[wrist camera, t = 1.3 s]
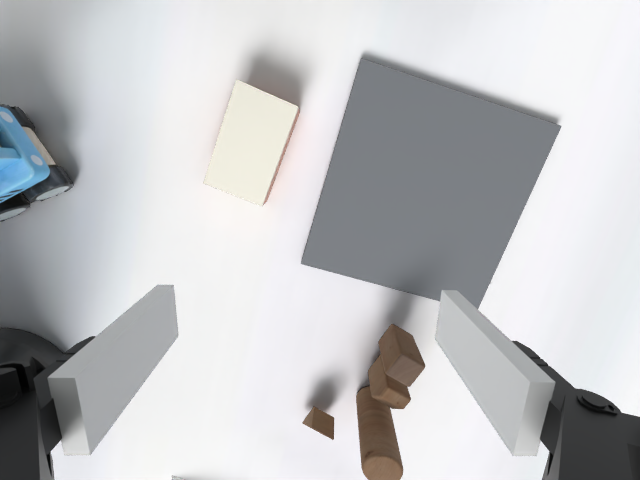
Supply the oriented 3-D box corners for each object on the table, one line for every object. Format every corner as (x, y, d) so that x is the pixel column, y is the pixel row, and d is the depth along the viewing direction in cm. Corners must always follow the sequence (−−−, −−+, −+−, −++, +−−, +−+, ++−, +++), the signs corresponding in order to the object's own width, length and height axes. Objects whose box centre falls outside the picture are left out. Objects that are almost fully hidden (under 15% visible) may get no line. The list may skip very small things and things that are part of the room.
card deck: (215, 180, 35) (203, 183, 31) (245, 88, 32) (236, 79, 29) (267, 201, 35) (261, 206, 32) (300, 112, 33) (298, 106, 29)
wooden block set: (376, 308, 39) (390, 358, 29) (435, 342, 40) (468, 403, 30) (303, 412, 43) (293, 486, 33) (357, 441, 44) (363, 523, 34)
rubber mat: (301, 261, 37) (301, 263, 36) (360, 60, 32) (361, 58, 31) (473, 307, 39) (477, 311, 38) (555, 126, 34) (561, 125, 33)
